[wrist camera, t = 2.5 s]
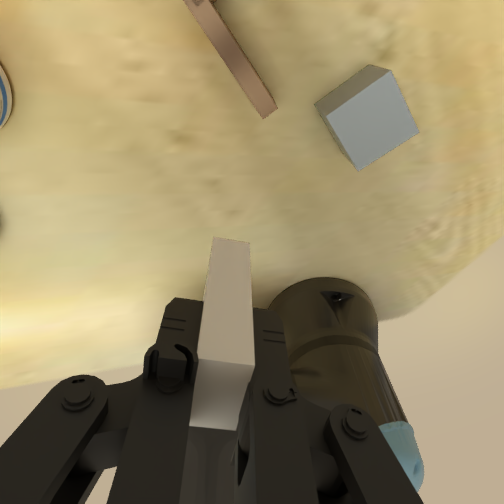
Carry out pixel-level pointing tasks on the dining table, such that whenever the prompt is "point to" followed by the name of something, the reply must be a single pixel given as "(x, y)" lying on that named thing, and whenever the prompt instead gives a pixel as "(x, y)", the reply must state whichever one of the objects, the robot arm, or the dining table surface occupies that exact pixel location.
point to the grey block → (367, 116)
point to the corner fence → (232, 55)
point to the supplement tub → (4, 98)
